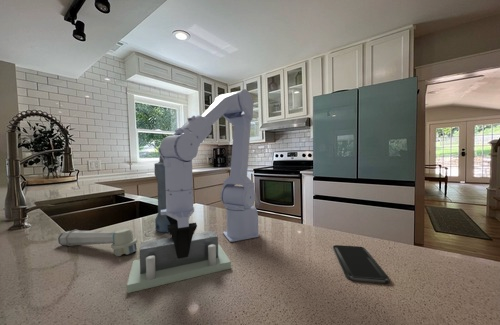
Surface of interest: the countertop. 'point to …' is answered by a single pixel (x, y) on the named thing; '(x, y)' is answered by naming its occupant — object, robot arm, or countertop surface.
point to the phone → (359, 265)
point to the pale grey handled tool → (101, 239)
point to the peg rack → (175, 270)
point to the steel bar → (167, 252)
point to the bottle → (161, 197)
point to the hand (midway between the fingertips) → (181, 249)
